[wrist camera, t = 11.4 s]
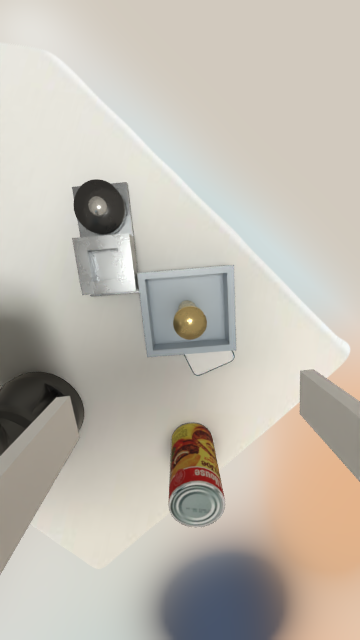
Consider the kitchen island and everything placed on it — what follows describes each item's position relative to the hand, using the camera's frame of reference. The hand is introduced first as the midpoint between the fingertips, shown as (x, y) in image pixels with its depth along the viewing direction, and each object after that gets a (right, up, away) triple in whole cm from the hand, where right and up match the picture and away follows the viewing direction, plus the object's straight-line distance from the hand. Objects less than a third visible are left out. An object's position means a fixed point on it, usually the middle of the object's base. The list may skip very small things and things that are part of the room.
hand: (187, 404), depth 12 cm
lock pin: (+1, +7, +23) cm, 24 cm away
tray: (+1, +7, +24) cm, 25 cm away
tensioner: (-12, +17, +22) cm, 30 cm away
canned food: (+2, -18, +30) cm, 35 cm away
